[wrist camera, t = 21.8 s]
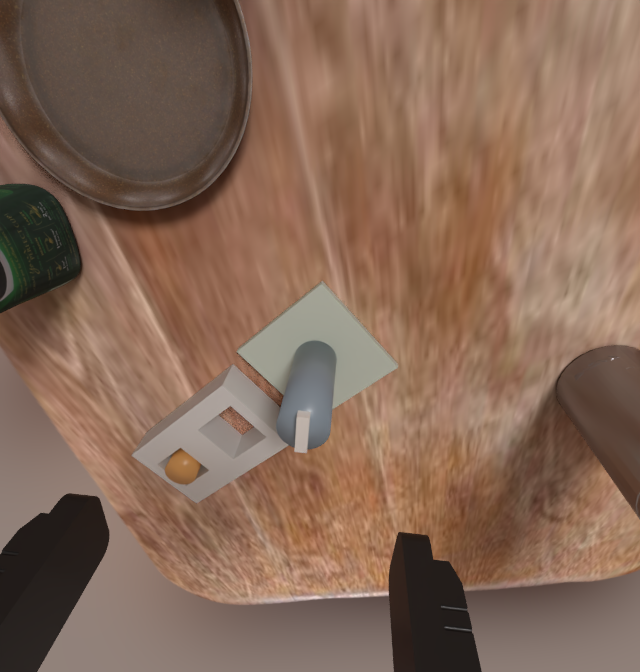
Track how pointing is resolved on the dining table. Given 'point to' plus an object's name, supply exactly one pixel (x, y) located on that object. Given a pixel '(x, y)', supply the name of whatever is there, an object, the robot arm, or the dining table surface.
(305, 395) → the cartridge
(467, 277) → the dining table surface
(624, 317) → the dining table surface
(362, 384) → the pad
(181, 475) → the orange rounded piece
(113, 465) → the dining table surface
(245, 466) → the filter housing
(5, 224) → the coffee jar
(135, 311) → the dining table surface
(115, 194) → the plant saucer
